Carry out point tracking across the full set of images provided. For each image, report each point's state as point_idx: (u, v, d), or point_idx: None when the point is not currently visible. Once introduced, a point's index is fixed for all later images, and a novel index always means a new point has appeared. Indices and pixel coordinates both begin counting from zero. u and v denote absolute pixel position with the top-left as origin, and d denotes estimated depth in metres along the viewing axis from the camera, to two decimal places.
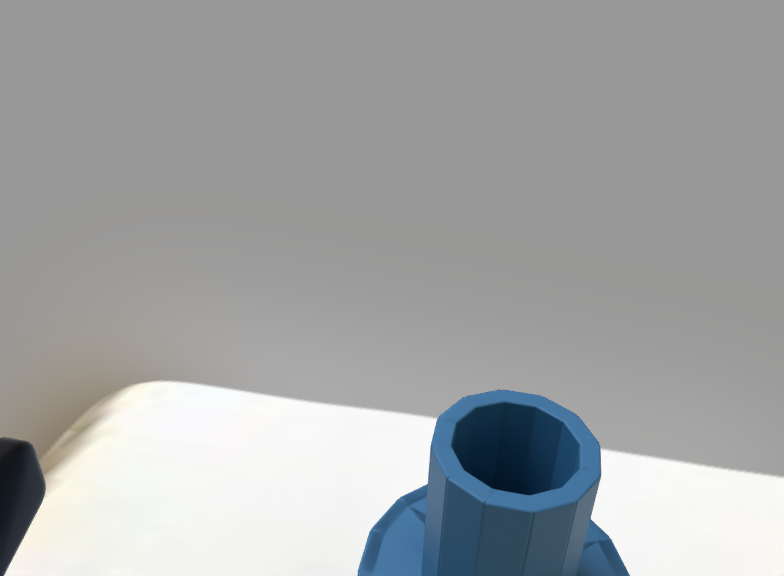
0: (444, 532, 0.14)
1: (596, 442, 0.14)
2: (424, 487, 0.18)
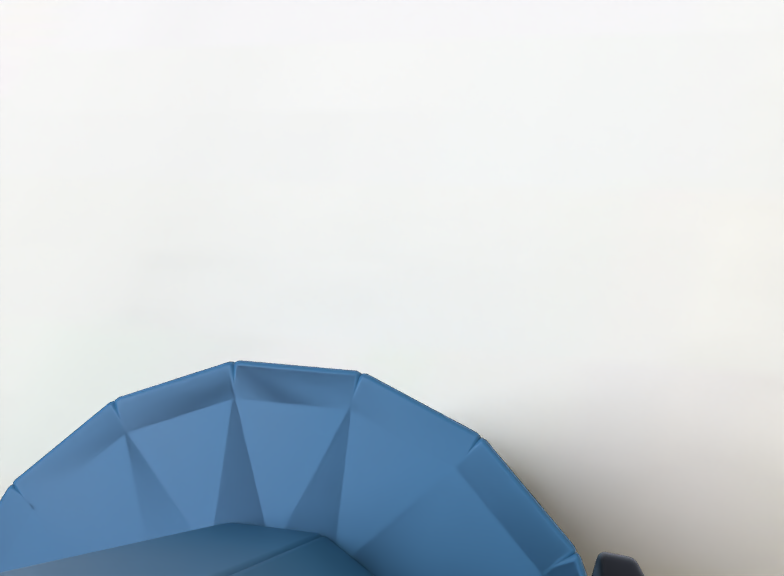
0: None
1: None
2: (75, 437, 0.07)
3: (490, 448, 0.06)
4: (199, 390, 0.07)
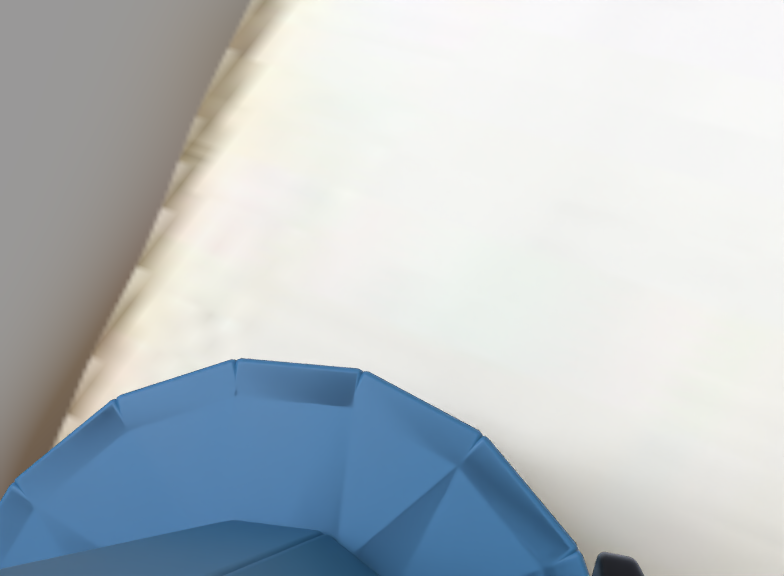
0: None
1: None
2: (77, 435, 0.07)
3: (492, 446, 0.06)
4: (201, 388, 0.07)
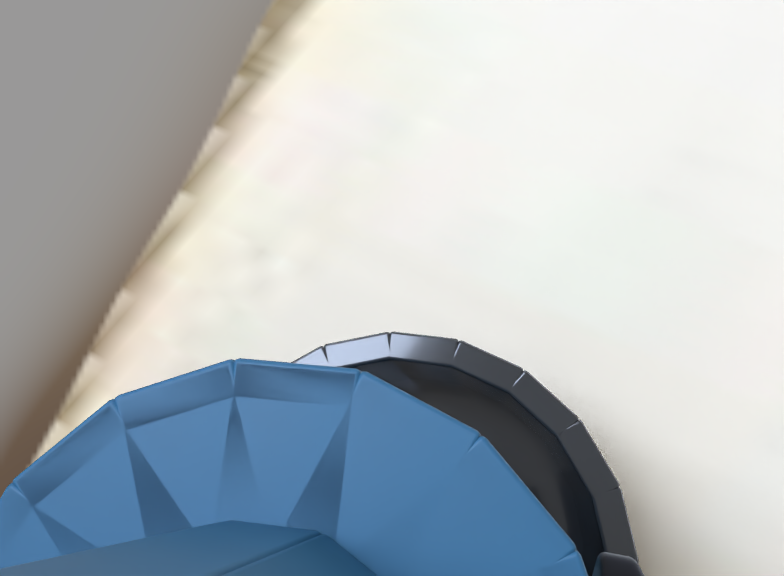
0: None
1: None
2: (75, 435, 0.07)
3: (490, 446, 0.06)
4: (199, 388, 0.07)
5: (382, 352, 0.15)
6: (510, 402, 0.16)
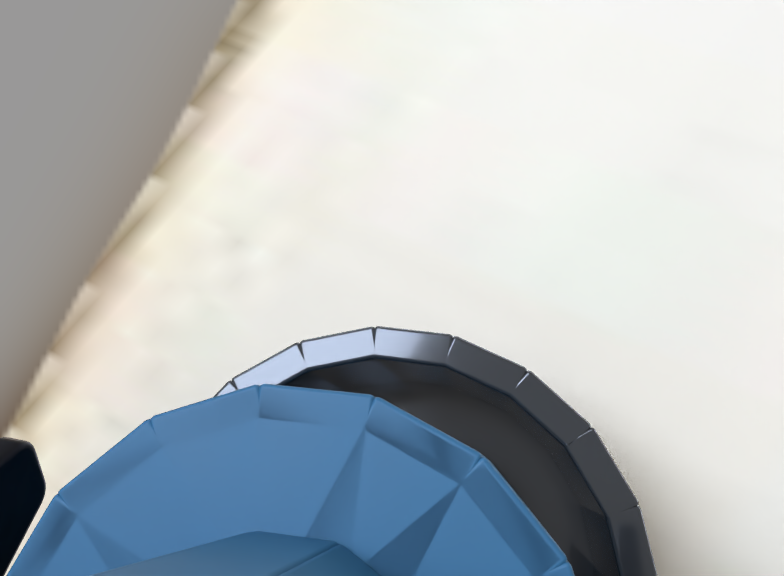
0: None
1: None
2: (114, 451, 0.07)
3: (491, 466, 0.07)
4: (228, 410, 0.07)
5: (366, 349, 0.13)
6: (512, 407, 0.14)
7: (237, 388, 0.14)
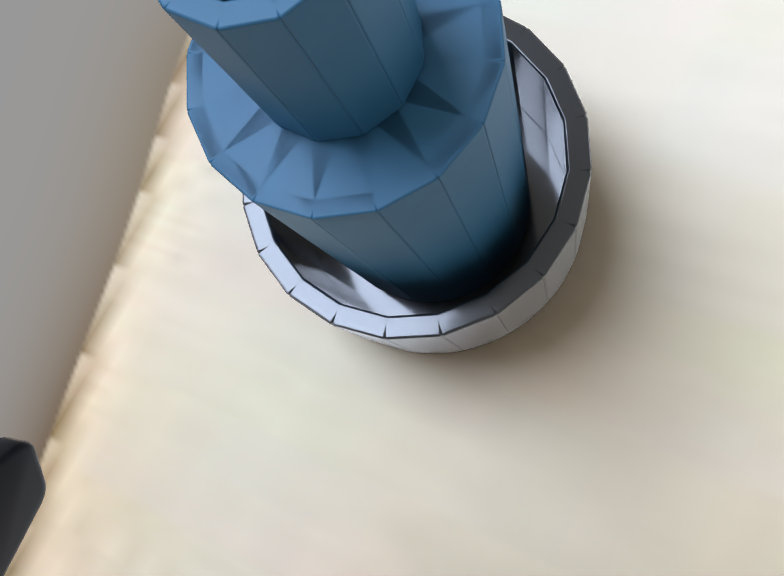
0: None
1: None
2: None
3: None
4: None
5: None
6: None
7: None
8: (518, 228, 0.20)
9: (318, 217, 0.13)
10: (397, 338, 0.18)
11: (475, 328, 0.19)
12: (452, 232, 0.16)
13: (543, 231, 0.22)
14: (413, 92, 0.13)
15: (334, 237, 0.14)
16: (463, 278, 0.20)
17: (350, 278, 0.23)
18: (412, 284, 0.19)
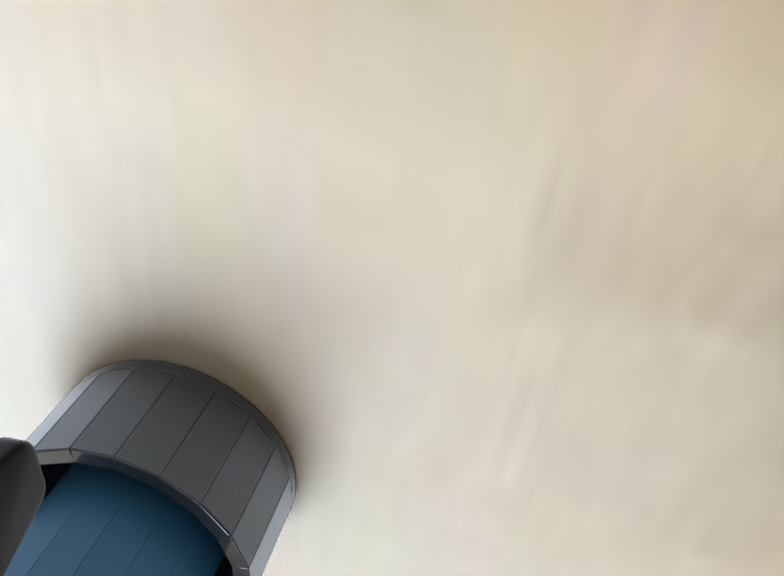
0: None
1: None
2: None
3: None
4: None
5: None
6: None
7: None
8: None
9: None
10: (244, 560, 0.23)
11: (224, 499, 0.23)
12: None
13: None
14: None
15: None
16: None
17: None
18: (210, 535, 0.24)
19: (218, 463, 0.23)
